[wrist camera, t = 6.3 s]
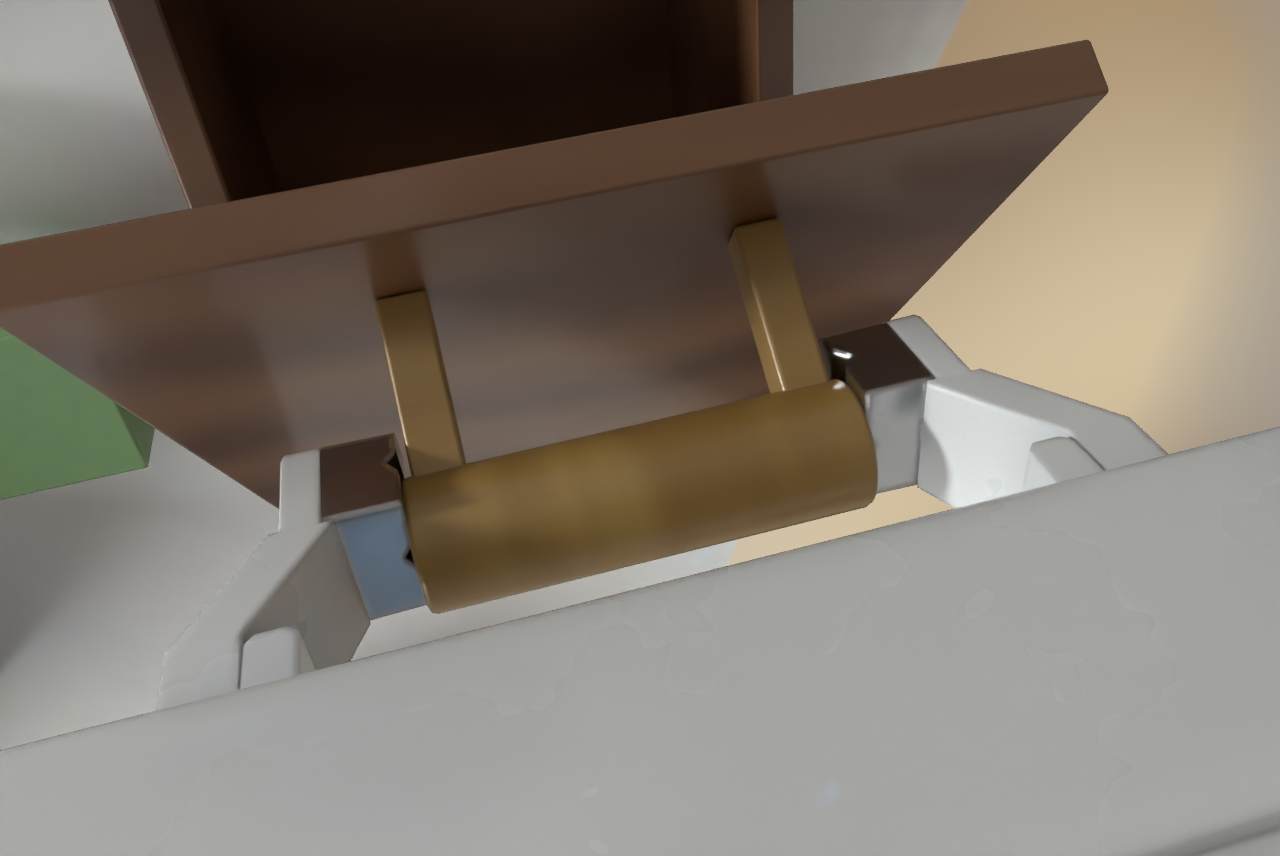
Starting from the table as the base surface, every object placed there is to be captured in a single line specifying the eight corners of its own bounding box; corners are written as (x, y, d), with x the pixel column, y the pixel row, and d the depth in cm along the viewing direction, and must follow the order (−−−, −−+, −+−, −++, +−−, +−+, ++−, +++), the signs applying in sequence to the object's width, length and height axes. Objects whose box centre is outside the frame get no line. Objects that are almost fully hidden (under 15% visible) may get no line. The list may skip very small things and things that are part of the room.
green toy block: (-75, 271, 31) (-128, 364, 27) (103, 237, 32) (76, 324, 28) (4, 407, 34) (-33, 508, 30) (165, 373, 35) (148, 467, 31)
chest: (110, -228, 25) (41, -170, 18) (669, -302, 27) (795, -273, 20) (301, 328, 35) (302, 502, 28) (701, 246, 37) (793, 388, 30)
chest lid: (-32, 248, 12) (27, 697, 11) (1090, 37, 14) (1230, 400, 13) (300, 498, 28) (336, 688, 27) (795, 384, 30) (846, 557, 29)
